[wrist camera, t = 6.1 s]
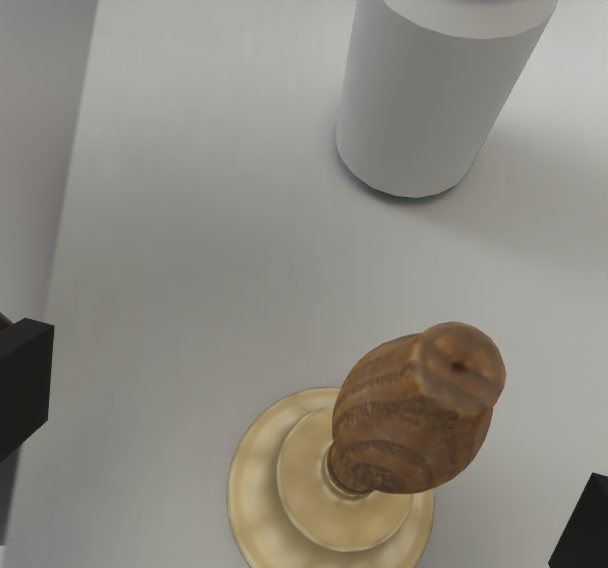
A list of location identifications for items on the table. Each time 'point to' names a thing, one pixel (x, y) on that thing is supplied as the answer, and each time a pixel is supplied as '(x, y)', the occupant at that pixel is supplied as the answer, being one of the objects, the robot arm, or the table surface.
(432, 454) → the hand bell
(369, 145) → the can
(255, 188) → the table surface
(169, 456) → the table surface
